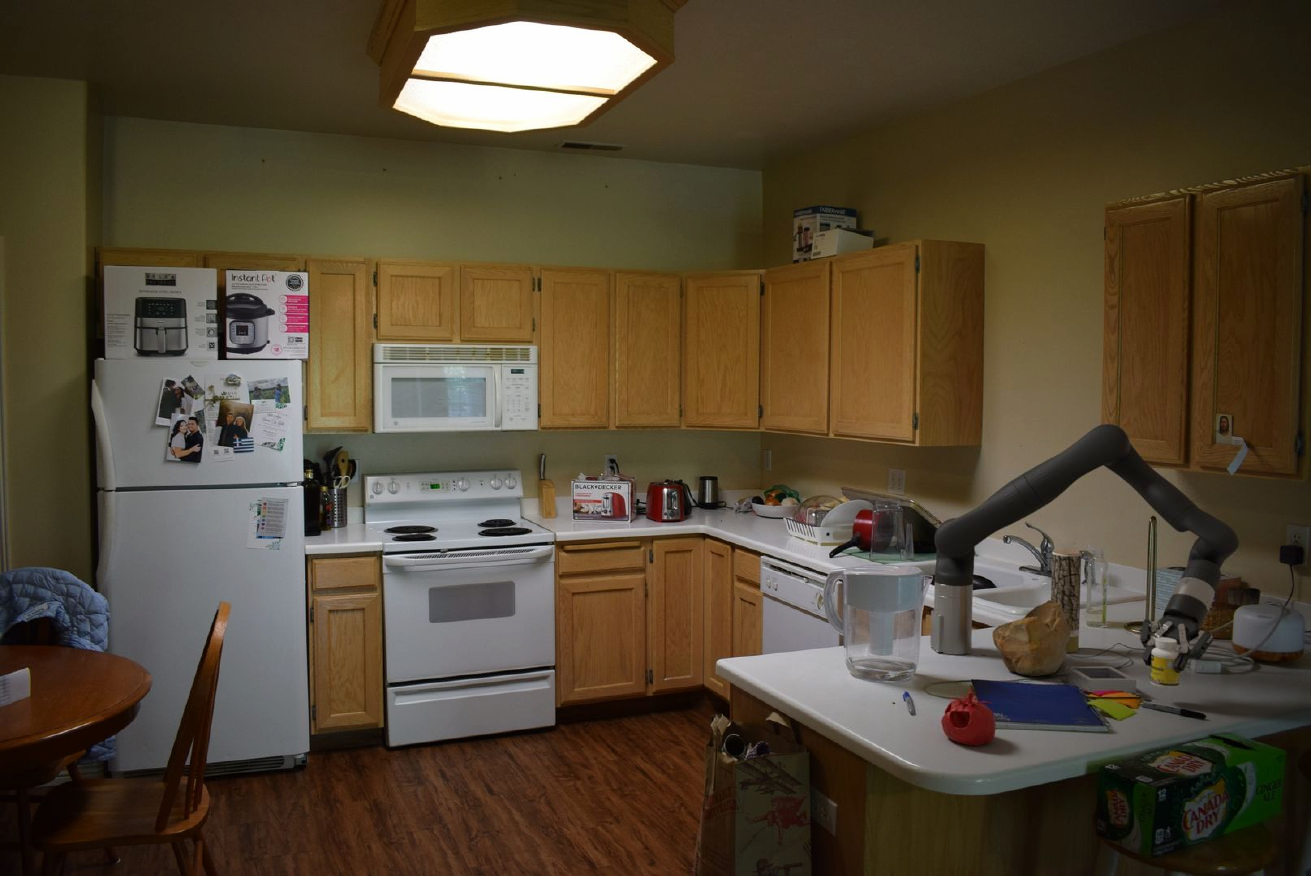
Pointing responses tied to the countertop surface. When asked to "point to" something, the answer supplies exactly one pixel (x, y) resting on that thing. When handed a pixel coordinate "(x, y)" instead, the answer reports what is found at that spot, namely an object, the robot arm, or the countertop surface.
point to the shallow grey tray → (1099, 679)
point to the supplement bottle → (1164, 664)
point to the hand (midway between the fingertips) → (1161, 666)
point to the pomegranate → (969, 721)
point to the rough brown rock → (1034, 641)
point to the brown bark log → (1067, 590)
